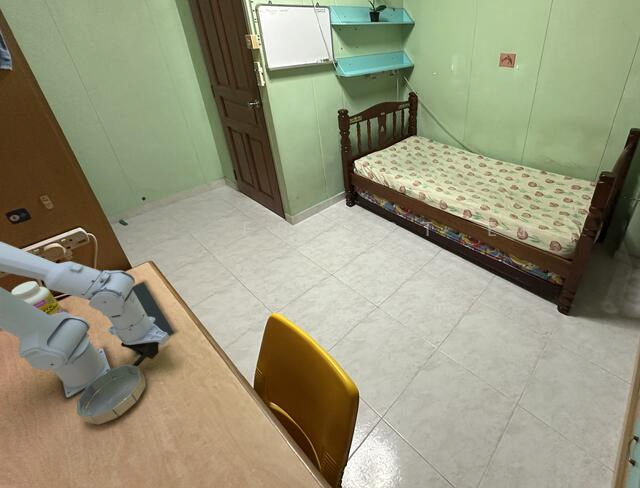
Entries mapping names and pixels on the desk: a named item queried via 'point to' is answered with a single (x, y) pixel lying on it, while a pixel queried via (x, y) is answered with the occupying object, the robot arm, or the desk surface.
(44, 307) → the supplement bottle
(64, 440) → the desk surface
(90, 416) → the frying pan
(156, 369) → the desk surface
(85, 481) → the desk surface
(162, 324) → the mat
